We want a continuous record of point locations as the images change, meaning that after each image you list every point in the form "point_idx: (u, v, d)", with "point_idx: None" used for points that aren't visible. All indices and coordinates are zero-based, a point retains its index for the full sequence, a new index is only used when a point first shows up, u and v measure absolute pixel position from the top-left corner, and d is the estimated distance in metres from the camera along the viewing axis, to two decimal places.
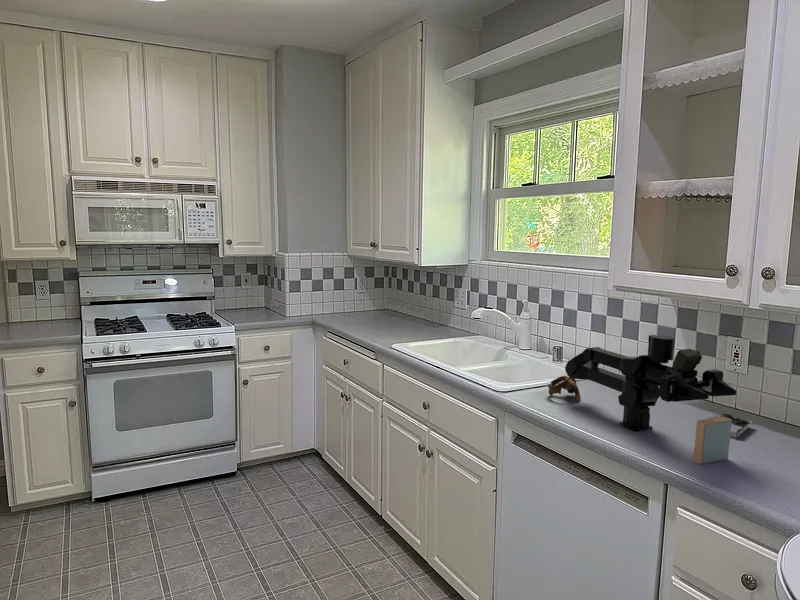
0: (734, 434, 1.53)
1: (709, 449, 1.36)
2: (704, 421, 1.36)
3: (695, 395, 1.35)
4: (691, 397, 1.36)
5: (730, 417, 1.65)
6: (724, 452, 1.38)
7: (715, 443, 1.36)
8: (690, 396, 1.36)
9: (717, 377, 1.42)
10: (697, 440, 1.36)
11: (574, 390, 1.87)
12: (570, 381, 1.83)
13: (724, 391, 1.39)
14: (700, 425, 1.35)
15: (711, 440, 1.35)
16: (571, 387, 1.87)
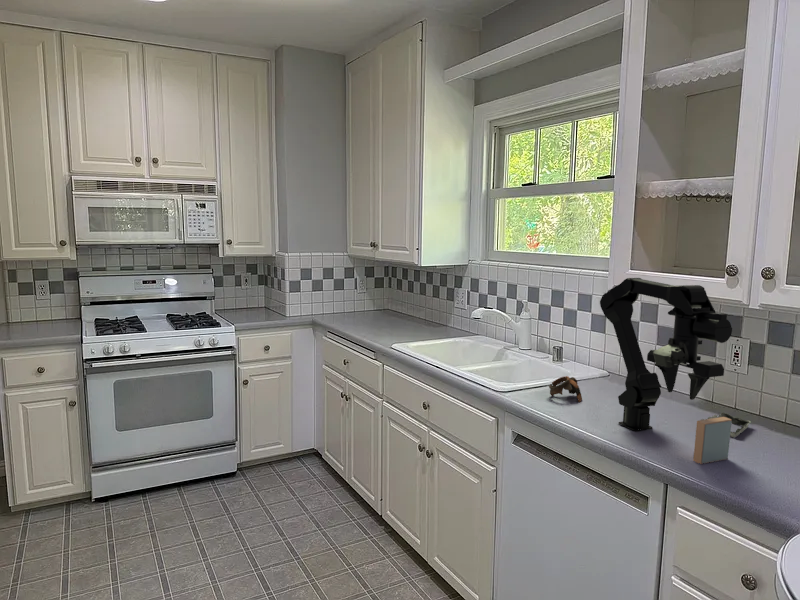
0: (733, 434, 1.53)
1: (709, 449, 1.36)
2: (704, 421, 1.36)
3: None
4: None
5: (729, 417, 1.65)
6: (724, 452, 1.38)
7: (715, 443, 1.36)
8: None
9: (690, 377, 1.40)
10: (697, 440, 1.36)
11: (575, 390, 1.86)
12: (571, 381, 1.83)
13: None
14: (700, 425, 1.35)
15: (711, 440, 1.35)
16: (572, 387, 1.87)
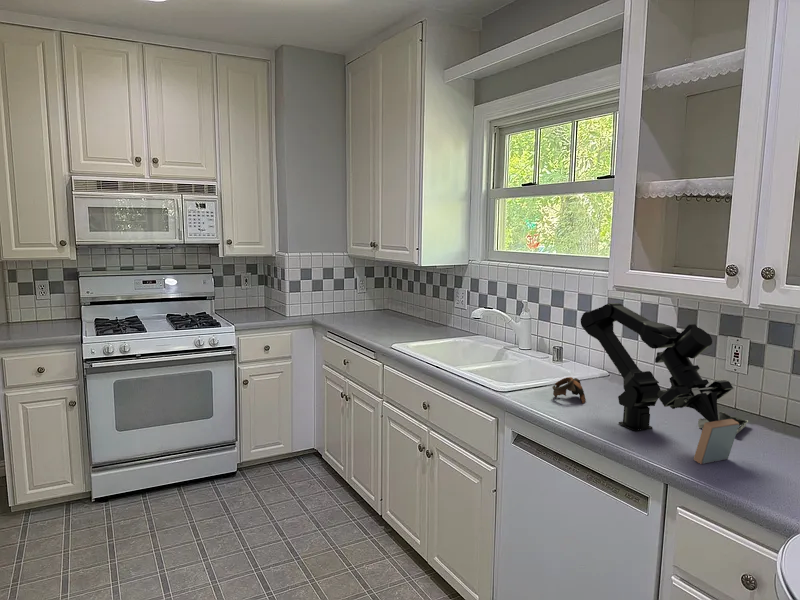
0: None
1: (712, 451, 1.35)
2: (712, 424, 1.34)
3: None
4: None
5: (727, 416, 1.66)
6: (725, 453, 1.37)
7: (718, 445, 1.35)
8: None
9: None
10: (701, 441, 1.35)
11: (579, 391, 1.85)
12: (575, 382, 1.81)
13: None
14: (707, 428, 1.33)
15: (715, 442, 1.34)
16: (576, 388, 1.86)
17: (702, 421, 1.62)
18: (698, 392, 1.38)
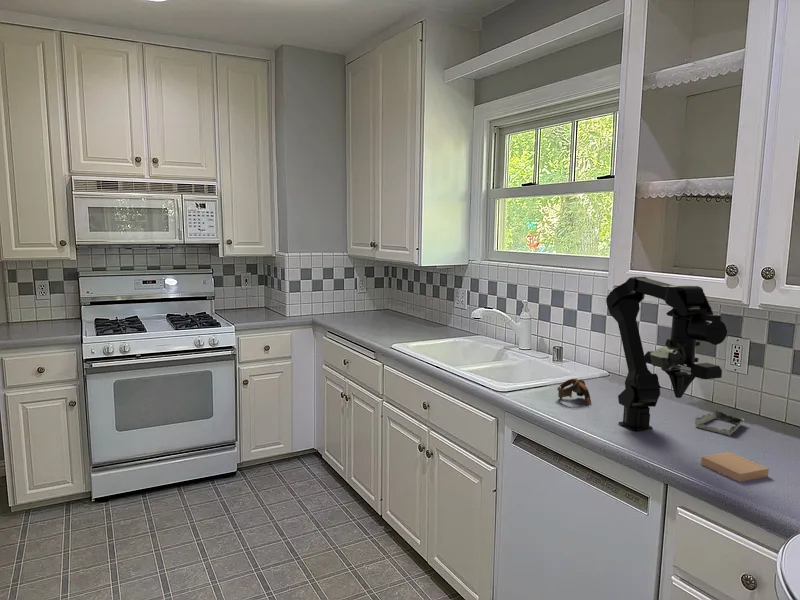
0: (728, 432, 1.55)
1: None
2: (743, 477, 1.27)
3: None
4: None
5: (723, 415, 1.67)
6: None
7: None
8: None
9: (677, 376, 1.41)
10: (721, 468, 1.30)
11: (584, 393, 1.84)
12: (580, 384, 1.80)
13: None
14: (736, 477, 1.27)
15: None
16: (581, 390, 1.84)
17: (699, 420, 1.63)
18: None
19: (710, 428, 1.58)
